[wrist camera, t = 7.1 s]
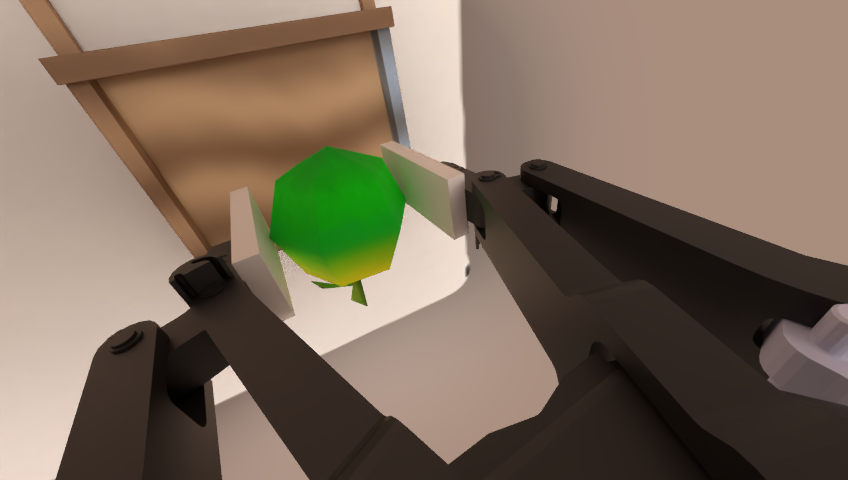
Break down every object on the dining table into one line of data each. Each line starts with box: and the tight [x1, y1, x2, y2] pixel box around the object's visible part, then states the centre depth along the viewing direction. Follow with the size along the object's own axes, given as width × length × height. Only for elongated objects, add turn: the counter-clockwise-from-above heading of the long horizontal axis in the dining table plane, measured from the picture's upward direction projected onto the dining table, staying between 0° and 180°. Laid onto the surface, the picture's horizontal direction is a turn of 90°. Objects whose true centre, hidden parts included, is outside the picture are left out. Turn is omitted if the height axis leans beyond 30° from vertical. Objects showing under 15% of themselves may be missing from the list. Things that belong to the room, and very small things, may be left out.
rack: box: [19, 0, 411, 258], centre depth 20 cm, size 29×20×4 cm
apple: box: [269, 146, 406, 306], centre depth 15 cm, size 7×6×9 cm
